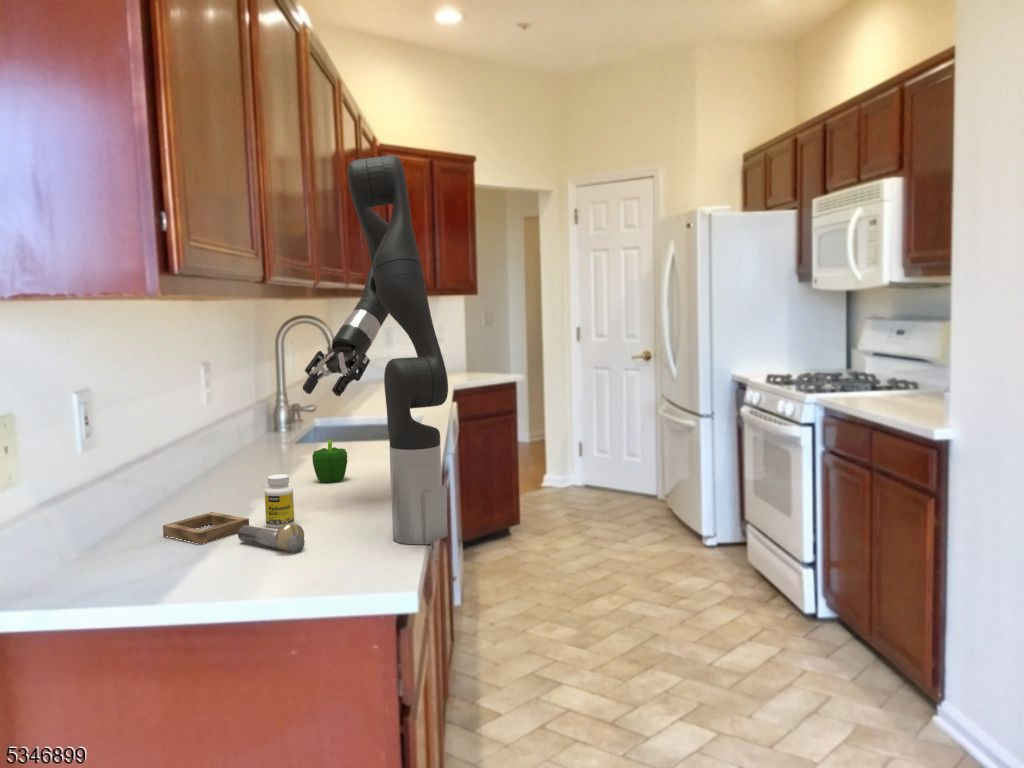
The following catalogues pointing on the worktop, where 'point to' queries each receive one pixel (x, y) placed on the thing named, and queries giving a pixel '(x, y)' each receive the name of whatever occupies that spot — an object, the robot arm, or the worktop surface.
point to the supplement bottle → (279, 501)
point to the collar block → (222, 528)
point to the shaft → (275, 537)
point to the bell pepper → (330, 463)
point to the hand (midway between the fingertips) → (320, 392)
